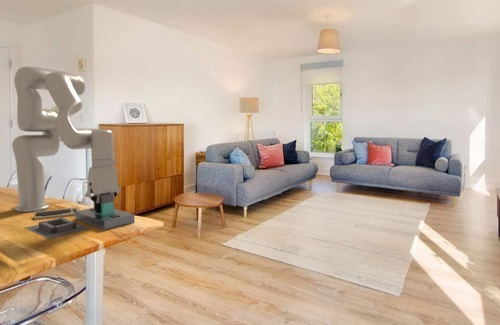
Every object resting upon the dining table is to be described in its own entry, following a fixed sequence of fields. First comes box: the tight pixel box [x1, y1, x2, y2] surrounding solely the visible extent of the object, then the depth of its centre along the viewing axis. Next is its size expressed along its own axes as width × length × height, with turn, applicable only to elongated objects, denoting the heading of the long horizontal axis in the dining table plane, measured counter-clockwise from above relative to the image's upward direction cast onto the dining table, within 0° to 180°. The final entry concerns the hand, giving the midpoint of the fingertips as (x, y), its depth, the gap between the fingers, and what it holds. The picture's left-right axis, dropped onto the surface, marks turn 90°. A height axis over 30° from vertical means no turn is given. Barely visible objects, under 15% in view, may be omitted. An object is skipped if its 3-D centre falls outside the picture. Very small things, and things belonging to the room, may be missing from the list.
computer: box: [33, 206, 80, 221], centre depth 133 cm, size 16×8×3 cm, turn 123°
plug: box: [95, 193, 115, 216], centre depth 127 cm, size 6×4×10 cm, turn 54°
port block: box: [74, 207, 135, 231], centre depth 127 cm, size 20×12×4 cm, turn 54°
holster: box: [24, 217, 92, 240], centre depth 117 cm, size 18×14×3 cm
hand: (104, 211), depth 127 cm, fingers closed on plug, 3 cm apart
